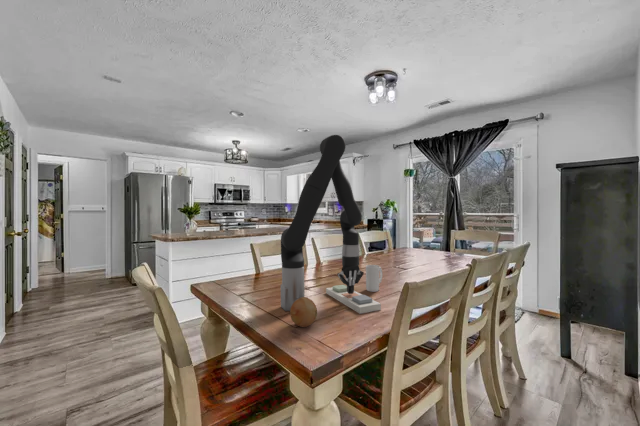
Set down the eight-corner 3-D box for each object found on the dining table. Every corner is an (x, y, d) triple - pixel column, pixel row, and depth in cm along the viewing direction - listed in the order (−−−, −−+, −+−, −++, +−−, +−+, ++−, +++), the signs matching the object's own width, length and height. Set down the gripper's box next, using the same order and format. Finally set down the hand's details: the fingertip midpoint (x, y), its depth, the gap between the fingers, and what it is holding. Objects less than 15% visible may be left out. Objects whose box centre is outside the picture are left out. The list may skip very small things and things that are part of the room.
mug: (371, 292, 143) (371, 268, 143) (362, 289, 149) (362, 265, 149) (387, 289, 148) (387, 265, 148) (377, 286, 154) (377, 263, 154)
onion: (315, 332, 99) (315, 302, 99) (286, 330, 100) (286, 301, 100) (319, 321, 108) (319, 294, 108) (293, 319, 110) (293, 293, 110)
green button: (338, 293, 135) (338, 289, 135) (332, 290, 141) (332, 286, 141) (349, 291, 138) (349, 287, 138) (343, 288, 143) (343, 284, 143)
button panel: (359, 313, 115) (359, 307, 115) (326, 293, 143) (326, 288, 143) (380, 309, 120) (380, 303, 120) (344, 290, 147) (344, 285, 147)
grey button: (360, 305, 119) (360, 300, 119) (352, 301, 124) (352, 296, 124) (372, 303, 121) (372, 298, 121) (364, 299, 127) (364, 294, 127)
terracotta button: (348, 302, 127) (348, 297, 127) (341, 298, 133) (341, 293, 133) (360, 300, 130) (360, 295, 130) (353, 296, 135) (353, 292, 135)
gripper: (341, 257, 124) (341, 297, 125) (367, 254, 130) (367, 293, 131) (333, 254, 131) (333, 293, 132) (358, 252, 137) (358, 289, 137)
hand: (350, 293), depth 131 cm, fingers closed
